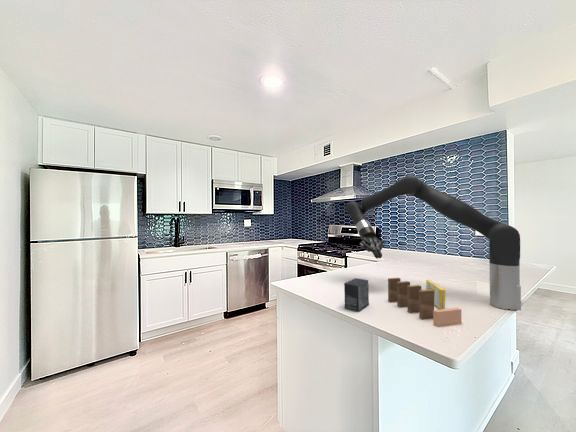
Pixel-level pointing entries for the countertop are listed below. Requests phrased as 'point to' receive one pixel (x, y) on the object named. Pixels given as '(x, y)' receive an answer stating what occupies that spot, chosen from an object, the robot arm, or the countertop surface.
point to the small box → (356, 294)
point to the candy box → (437, 294)
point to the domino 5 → (447, 317)
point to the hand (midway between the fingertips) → (379, 257)
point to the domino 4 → (426, 304)
